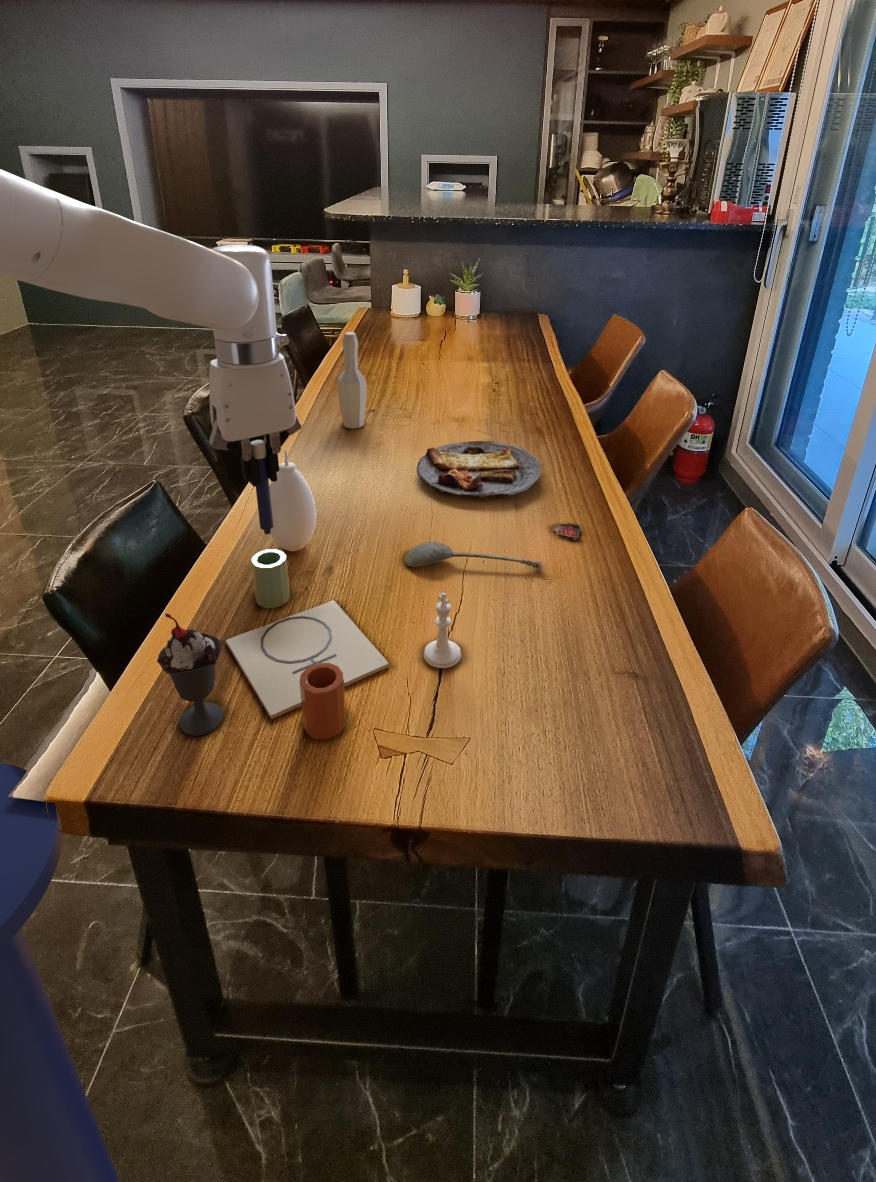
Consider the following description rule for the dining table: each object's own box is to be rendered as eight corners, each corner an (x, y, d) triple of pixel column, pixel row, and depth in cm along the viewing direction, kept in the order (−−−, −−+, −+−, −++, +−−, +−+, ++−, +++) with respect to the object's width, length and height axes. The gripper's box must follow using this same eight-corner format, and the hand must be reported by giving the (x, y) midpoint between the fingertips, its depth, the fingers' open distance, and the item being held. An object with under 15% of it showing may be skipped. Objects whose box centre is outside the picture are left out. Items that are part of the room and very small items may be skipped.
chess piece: (437, 673, 89) (438, 610, 85) (416, 652, 92) (416, 590, 88) (468, 658, 92) (470, 596, 87) (446, 638, 95) (448, 578, 91)
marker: (263, 538, 96) (253, 446, 90) (258, 531, 98) (248, 441, 92) (276, 534, 97) (267, 443, 91) (271, 528, 99) (261, 438, 93)
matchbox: (578, 525, 123) (579, 522, 123) (582, 540, 119) (582, 538, 118) (552, 524, 123) (552, 521, 123) (555, 539, 119) (555, 537, 119)
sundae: (170, 706, 83) (150, 604, 76) (228, 692, 85) (214, 592, 79) (171, 748, 77) (149, 642, 71) (233, 732, 79) (218, 628, 73)
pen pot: (314, 746, 78) (310, 699, 75) (297, 718, 81) (293, 673, 79) (352, 727, 80) (350, 681, 78) (334, 702, 84) (331, 657, 81)
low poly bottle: (334, 423, 163) (329, 332, 154) (356, 417, 167) (353, 328, 158) (349, 432, 159) (346, 338, 150) (372, 425, 163) (370, 334, 153)
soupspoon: (409, 550, 116) (401, 574, 110) (408, 533, 114) (400, 557, 109) (540, 558, 113) (540, 583, 108) (541, 541, 112) (541, 565, 106)
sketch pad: (271, 719, 81) (270, 715, 81) (226, 643, 93) (225, 639, 93) (389, 666, 90) (389, 662, 89) (334, 603, 102) (333, 599, 101)
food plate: (415, 503, 129) (415, 486, 128) (417, 451, 150) (417, 436, 149) (548, 503, 130) (549, 487, 129) (531, 451, 151) (532, 437, 150)
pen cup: (263, 612, 99) (258, 571, 96) (251, 595, 103) (246, 555, 100) (294, 601, 102) (291, 561, 99) (282, 584, 105) (278, 545, 102)
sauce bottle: (291, 566, 110) (282, 464, 102) (259, 549, 114) (248, 450, 106) (327, 546, 115) (321, 448, 108) (296, 530, 120) (288, 435, 112)
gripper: (295, 333, 93) (304, 456, 101) (173, 351, 85) (194, 483, 93) (319, 347, 87) (327, 476, 95) (191, 367, 79) (211, 507, 87)
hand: (261, 479), depth 94 cm, fingers closed on marker, 2 cm apart
